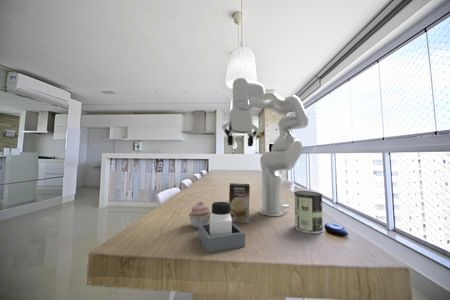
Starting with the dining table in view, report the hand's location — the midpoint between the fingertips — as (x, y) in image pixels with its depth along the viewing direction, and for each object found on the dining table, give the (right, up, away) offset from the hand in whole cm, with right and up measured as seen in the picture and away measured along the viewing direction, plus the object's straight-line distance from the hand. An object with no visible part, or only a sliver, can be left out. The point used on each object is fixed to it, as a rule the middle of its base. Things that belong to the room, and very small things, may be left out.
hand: (240, 145), depth 80 cm
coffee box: (-1, -34, +1) cm, 34 cm away
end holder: (-8, -32, -20) cm, 39 cm away
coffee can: (+26, -34, -8) cm, 43 cm away
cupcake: (-17, -33, -6) cm, 38 cm away
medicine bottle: (-8, -32, -20) cm, 38 cm away
